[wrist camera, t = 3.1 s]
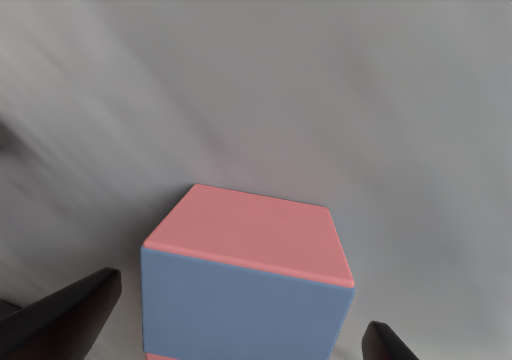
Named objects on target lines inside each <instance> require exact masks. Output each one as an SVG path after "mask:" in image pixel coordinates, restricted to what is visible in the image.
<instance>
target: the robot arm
mask: <svg viewBox="0 0 512 360" xmlns="http://www.w3.org/2000/svg"><path fill="white" fill-rule="evenodd" d="M121 291H122V284H121V272H120V270H118V269H115V268H110V267H106V268H103V269H101V270H99V271H97V272H95V273H93V274H91V275H89V276H87V277H85V278H83V279H81V280H79V281H77V282H75V283H73V284H71V285H69V286H67V287H65V288H63V289H61V290H59V291H57V292H55V293H53V294H51V295H49V296H47V297H45V298H43V299H41V300H39V301H37V302H35V303H33V304H31V305H29V306H27V307H25V308H23V309H21V310H19V311H17V312H15V313H13V314H11V315H9V316H7V317H5V318H3V319H1V320H0V360H83V359H84V358H85V356H86V355H87V353H88V352H89V350H90V349H91V347H92V345H93V344H94V342H95V340H96V338H97V337H98V335H99V333H100V331H101V330H102V328H103V326H104V324H105V322H106V321H107V319H108V317H109V315H110V313H111V312H112V310H113V308H114V306H115V305H116V303H117V301H118V299H119V297H120V295H121ZM362 353H363V360H419V359H418V358H417V357H416V356H415V355H414V353H413V352H412V351H411V350H410V349H409V348H408V347H407V346H406V345H405V344H404V342H403V341H402V340H401V339H400V338H399V337H398V336H397V335H396V334H395V332H394V331H393V330H392V329H391V328H390V327H389V326H388V325H387V324H385V323H382V322H377V321H371V322H370V323H369V325H368V327H367V330H366V332H365V334H364V336H363V339H362Z"/></svg>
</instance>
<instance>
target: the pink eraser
mask: <svg viewBox="0 0 512 360" xmlns="http://www.w3.org/2000/svg"><path fill="white" fill-rule="evenodd" d="M140 271H141V303H142V335H143V351H144V352H146V360H328V359H329V357H330V354H331V352H332V349H333V347H334V344H335V342H336V339H337V337H338V334H339V332H340V329H341V327H342V324H343V321H344V319H345V316H346V314H347V311H348V309H349V306H350V304H351V301H352V299H353V296H354V294H355V286H354V280H353V277H352V274H351V271H350V268H349V266H348V263H347V260H346V257H345V254H344V252H343V249H342V246H341V243H340V240H339V237H338V235H337V232H336V229H335V226H334V223H333V220H332V218H331V215H330V212H329V209H328V208H326V207H321V206H316V205H310V204H305V203H300V202H294V201H289V200H283V199H278V198H272V197H267V196H261V195H256V194H250V193H245V192H239V191H234V190H228V189H223V188H217V187H212V186H207V185H201V184H194V186H193V187H192V188H191V189H190V190H189V191H188V192H187V193H186V195H185V196H184V197H183V198H182V199H181V200H180V201H179V202H178V203H177V205H176V206H175V207H174V208H173V209H172V210H171V211H170V212H169V214H168V215H167V216H166V217H165V218H164V219H163V220H162V221H161V223H160V224H159V225H158V226H157V227H156V228H155V229H154V230H153V231H152V233H151V234H150V235H149V236H148V237H147V238H146V239H145V241H144V243H143V245H142V246H141V248H140Z"/></svg>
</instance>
